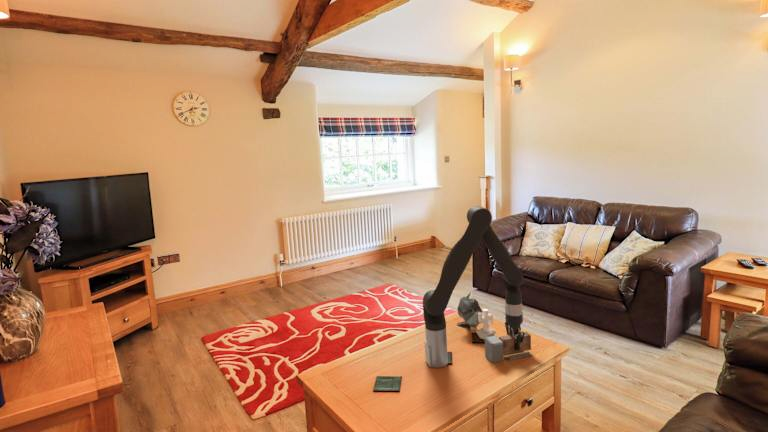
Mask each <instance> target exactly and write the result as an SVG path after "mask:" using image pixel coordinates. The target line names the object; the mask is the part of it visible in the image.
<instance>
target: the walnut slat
mask: <svg viewBox="0 0 768 432" xmlns="http://www.w3.org/2000/svg"><path fill="white" fill-rule="evenodd" d="M524 333H525V335H524V339H523V342H521V343H520V349H519V350H515V346H514V337H513V335H504V336H503V335H502V336H498V338H499V339H500V340H501V341H502V342H503V356H505V355H509V354H514V353H516V354H517V353H520V352H525V351H531V350H532V340H531V339H532V337H531V334H530V333H529V332H526V331H524ZM516 335H517V334H516ZM516 340H517V338H516ZM520 340H521V339H520Z"/></svg>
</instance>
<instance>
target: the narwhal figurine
mask: <svg viewBox="0 0 768 432" xmlns="http://www.w3.org/2000/svg"><path fill="white" fill-rule="evenodd" d="M471 293H472V292H469V293H468V294H467V295H466V296H462V297H460V299H459V303H458V306H457V309H456V310H457V314H458V316H459V317H460V318H462V320H463V321H460V322H457V323H456V325H457V326H469V328H470V331H469V332H471V333H476V331H477V330H478V328H477V327H479V325H481V323H479V322H478V313H482V308H481V307H480V304H479V302H478V300H477V299H475V298H470V295H471Z"/></svg>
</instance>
